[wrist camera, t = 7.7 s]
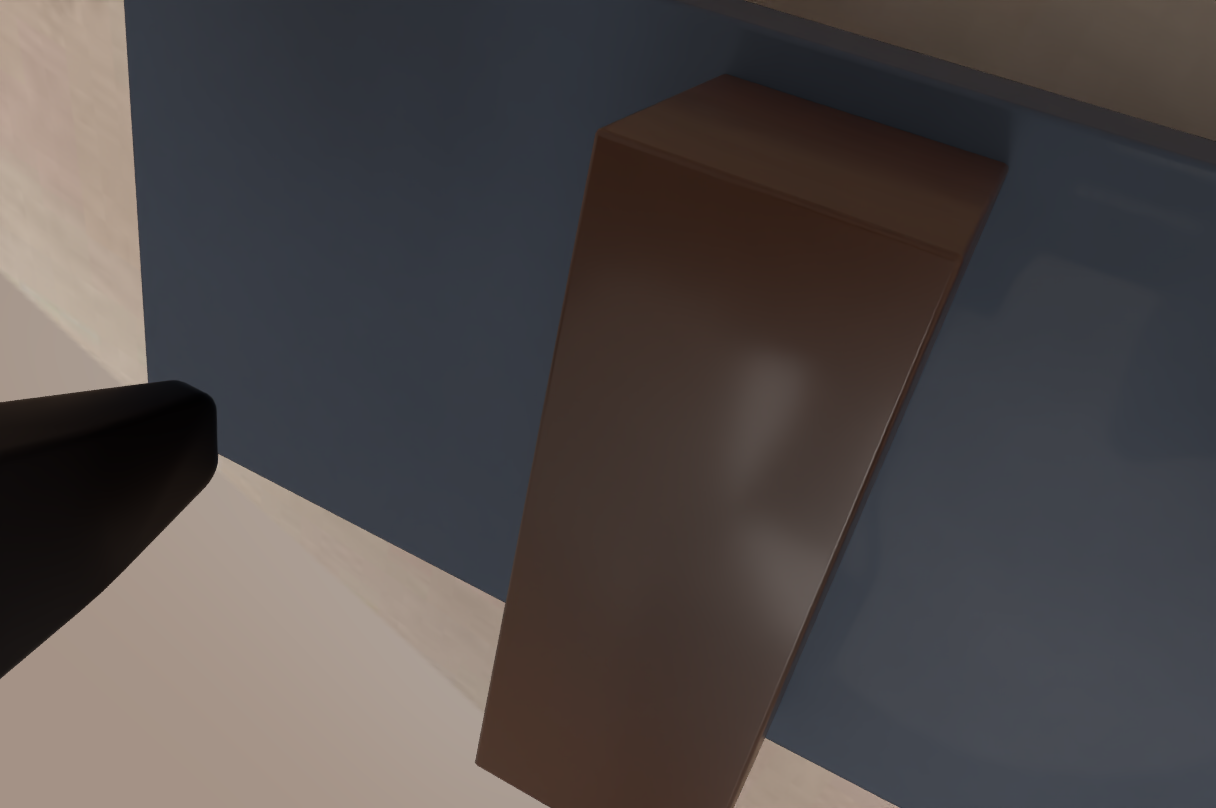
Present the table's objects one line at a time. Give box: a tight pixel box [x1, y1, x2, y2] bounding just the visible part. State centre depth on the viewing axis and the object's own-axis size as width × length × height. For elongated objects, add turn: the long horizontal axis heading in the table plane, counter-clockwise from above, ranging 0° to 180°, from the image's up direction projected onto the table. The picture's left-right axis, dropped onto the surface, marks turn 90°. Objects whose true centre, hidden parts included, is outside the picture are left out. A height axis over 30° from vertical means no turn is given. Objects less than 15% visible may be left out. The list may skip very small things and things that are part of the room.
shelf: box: [124, 0, 1216, 808], centre depth 14 cm, size 9×20×6 cm, turn 78°
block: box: [475, 74, 1008, 808], centre depth 11 cm, size 8×3×3 cm, turn 168°
